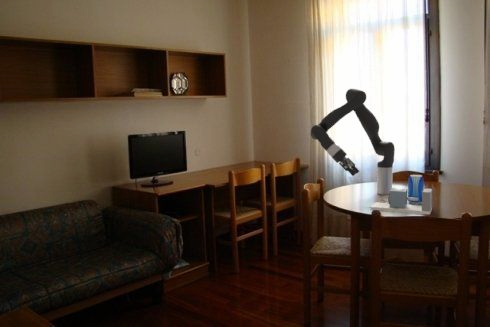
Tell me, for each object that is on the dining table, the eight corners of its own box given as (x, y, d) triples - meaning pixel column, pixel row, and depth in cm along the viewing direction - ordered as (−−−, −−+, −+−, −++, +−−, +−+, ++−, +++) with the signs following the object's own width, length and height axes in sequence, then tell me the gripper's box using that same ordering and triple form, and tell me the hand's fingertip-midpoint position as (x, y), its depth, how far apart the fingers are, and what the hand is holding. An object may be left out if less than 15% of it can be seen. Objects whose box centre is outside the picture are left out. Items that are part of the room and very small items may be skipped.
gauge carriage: (390, 203, 254) (391, 187, 253) (418, 205, 247) (419, 189, 246) (387, 207, 246) (388, 190, 244) (416, 209, 239) (416, 192, 238)
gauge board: (375, 204, 260) (375, 185, 258) (431, 209, 246) (432, 188, 245) (370, 209, 249) (371, 189, 248) (429, 214, 236) (430, 192, 234)
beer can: (407, 200, 268) (408, 174, 265) (423, 201, 265) (423, 174, 262) (407, 204, 260) (408, 176, 258) (423, 204, 257) (423, 177, 255)
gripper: (337, 149, 252) (358, 171, 249) (344, 146, 265) (364, 167, 261) (328, 158, 256) (348, 180, 252) (335, 155, 268) (354, 176, 264)
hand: (356, 173), depth 257 cm, fingers open, 8 cm apart
